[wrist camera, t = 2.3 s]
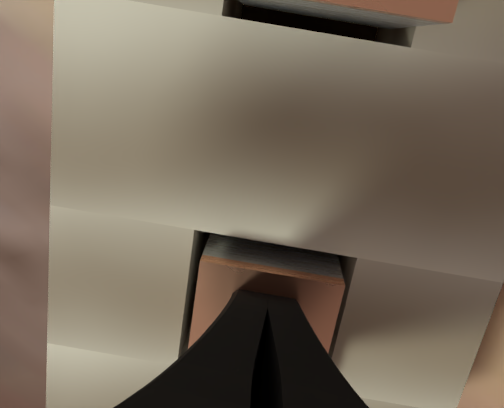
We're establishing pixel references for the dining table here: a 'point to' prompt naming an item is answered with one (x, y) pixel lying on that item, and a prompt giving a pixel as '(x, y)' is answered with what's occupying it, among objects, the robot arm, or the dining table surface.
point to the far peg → (267, 281)
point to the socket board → (273, 186)
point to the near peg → (368, 11)
